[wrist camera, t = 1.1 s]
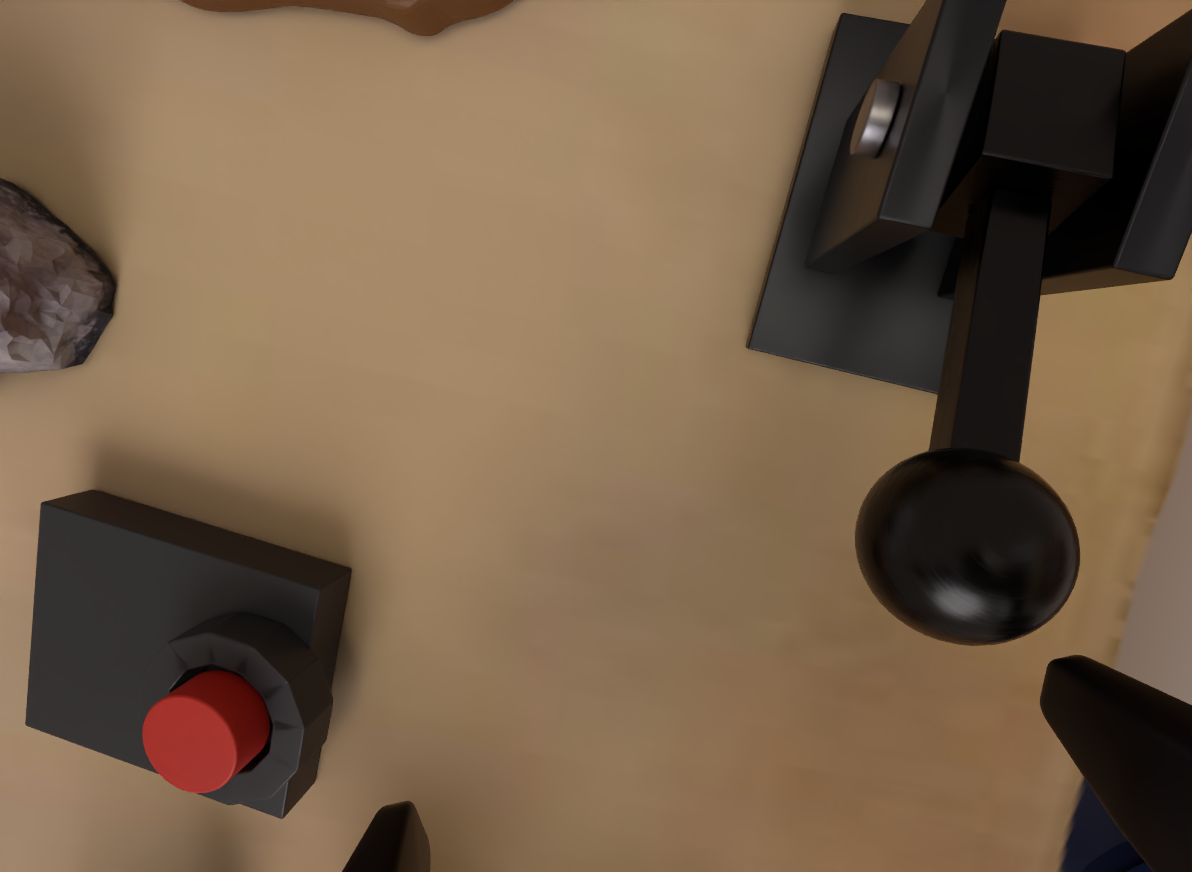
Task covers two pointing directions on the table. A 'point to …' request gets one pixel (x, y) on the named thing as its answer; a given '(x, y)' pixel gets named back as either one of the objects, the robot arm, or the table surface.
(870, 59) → the switch bracket
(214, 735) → the power button
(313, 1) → the plant
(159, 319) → the table surface
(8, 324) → the geode
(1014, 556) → the switch lever
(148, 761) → the power base
